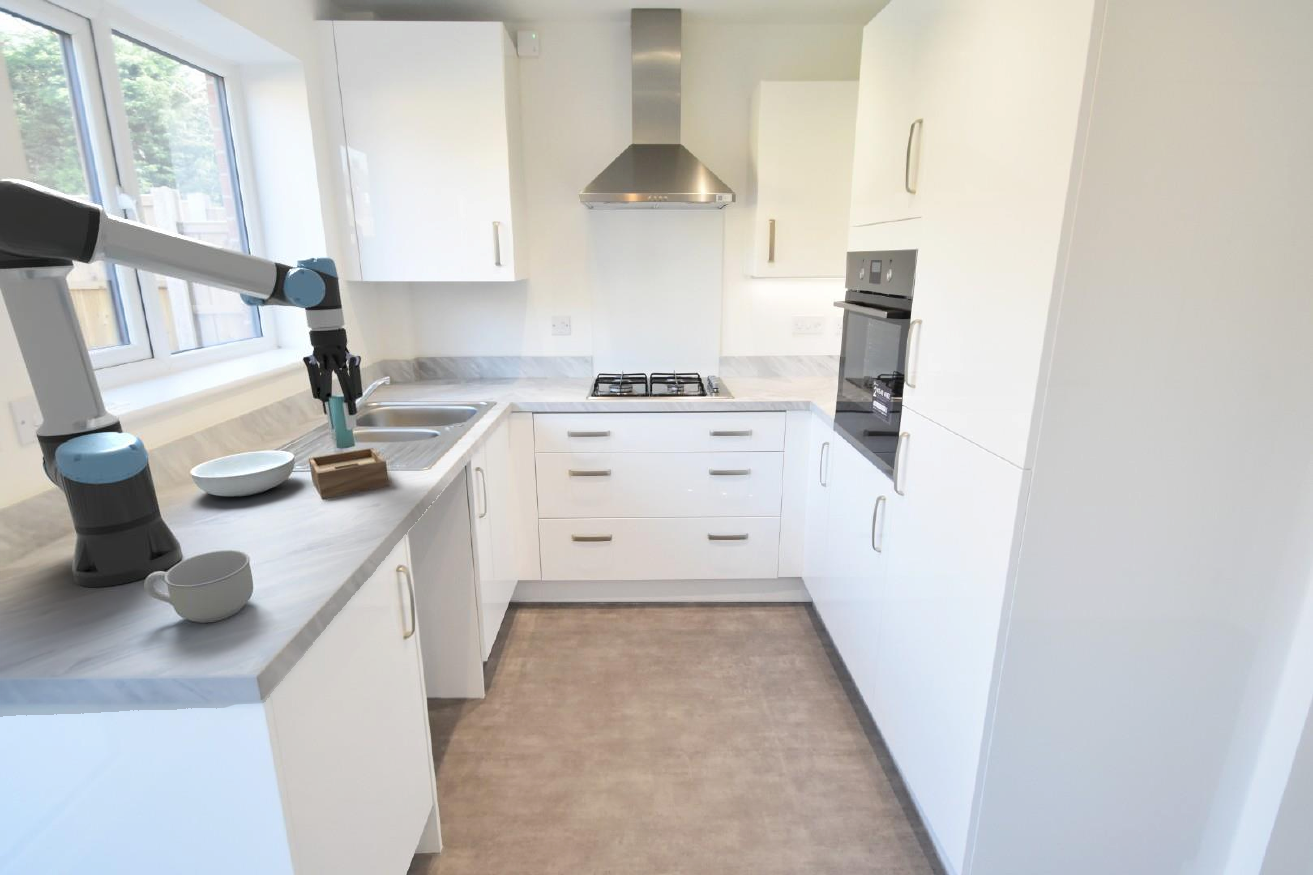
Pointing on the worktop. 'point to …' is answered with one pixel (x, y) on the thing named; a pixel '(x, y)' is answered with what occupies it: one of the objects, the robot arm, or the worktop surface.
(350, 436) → the peg
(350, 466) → the bore box
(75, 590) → the worktop surface
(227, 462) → the serving bowl
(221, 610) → the teacup
